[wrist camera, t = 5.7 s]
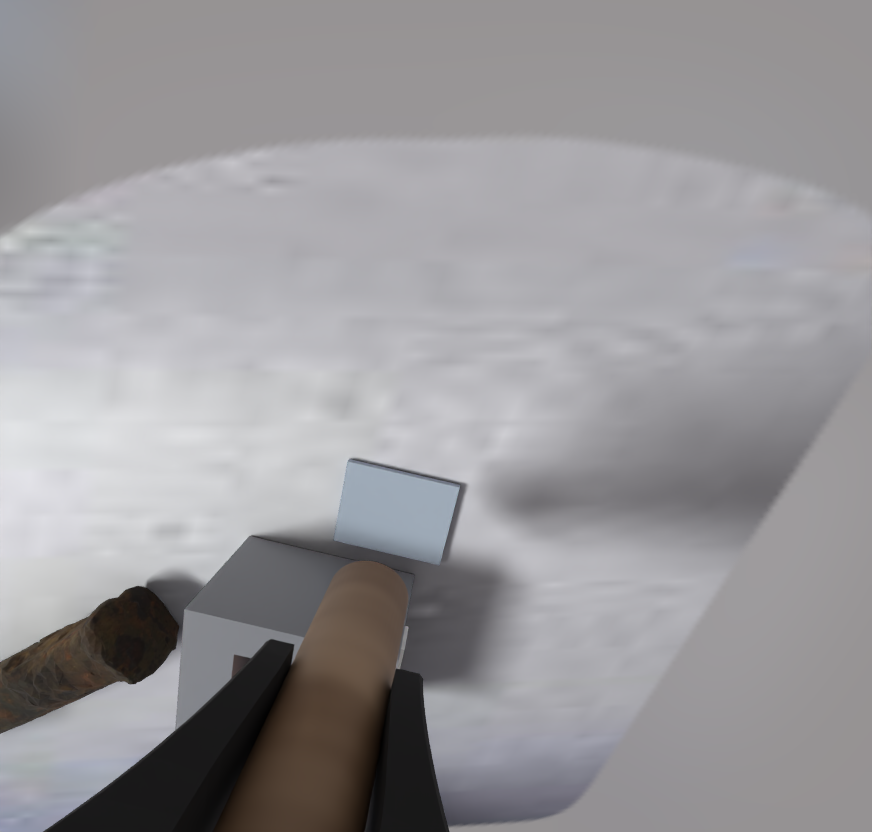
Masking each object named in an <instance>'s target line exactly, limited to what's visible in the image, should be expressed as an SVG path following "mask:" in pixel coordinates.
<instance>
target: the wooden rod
mask: <svg viewBox="0 0 872 832" xmlns="http://www.w3.org/2000/svg"><path fill="white" fill-rule="evenodd" d="M407 605H408V591H407V588H406V585H405V583H404V581H403V580H402V578H401V577H400V576H399V575H398V574H397V573H396V572H395V571H394V570H392V569H391V568H389V567H388V566H386V565H383V564H381V563H378V562H373V561H357V562H353V563H350V564H348V565H345V566H344V567H342V568H341V569H340V570H339V571H338V572H337V573H336V574H335V575H334V577H333V578H332V580H331V582H330V585H329V587H328V589H327V591H326V593H325V595H324V597H323V599H322V602H321V604H320V606H319V608H318V610H317V612H316V614H315V616H314V618H313V621H312V623H311V625H310V627H309V629H308V631H307V633H306V635H305V637H304V640H303V642H302V644H301V646H300V648H299V650H298V652H297V654H296V657H295V659H294V661H293V663H292V665H291V667H290V669H289V671H288V673H287V676H286V678H285V680H284V682H283V684H282V686H281V688H280V690H279V693H278V695H277V697H276V699H275V701H274V703H273V705H272V707H271V709H270V712H269V714H268V716H267V718H266V720H265V722H264V724H263V726H262V728H261V731H260V733H259V735H258V737H257V739H256V741H255V743H254V745H253V748H252V750H251V752H250V754H249V756H248V758H247V760H246V762H245V764H244V767H243V769H242V771H241V773H240V775H239V777H238V779H237V781H236V784H235V786H234V788H233V790H232V792H231V794H230V796H229V798H228V800H227V803H226V805H225V807H224V809H223V811H222V813H221V815H220V817H219V819H218V822H217V824H216V826H215V828H214V830H213V832H365V828H366V822H367V817H368V812H369V806H370V801H371V796H372V790H373V785H374V780H375V775H376V769H377V764H378V759H379V753H380V748H381V741H382V734H383V727H384V722H385V717H386V711H387V706H388V701H389V696H390V690H391V686H392V682H393V678H394V674H395V669H396V663H397V658H398V653H399V648H400V642H401V637H402V632H403V626H404V621H405V616H406V611H407Z"/></svg>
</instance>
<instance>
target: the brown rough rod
mask: <svg viewBox="0 0 872 832" xmlns="http://www.w3.org/2000/svg"><path fill="white" fill-rule="evenodd" d="M178 629H179V625H178V624H177V622H176V621H175V620H174V619H173V618H172V616H171V615H170V613H169V611H168V610H167V608H166V606H165V605H164V604H163V603H162V602H161V600H160V599H159V598H158V597H157V596H156V595H155V594H154V593H152V592H151V591H150V590H149V589H147V588H145V587H140V586H136V587H133V588H130V589H127V590H125V591H124V592H123V593H122V594H121V595H120V596H119V597H118V598H112V599H108V600H106V601H105V602H103V603H102V604H100V605H99V606H98V607H97V608H96V609H95V610H94V611H93V613H92V614H91V615H90V616H89V617H87V618H84V619H82V620H80V621H78V622H76V623H74V624H70V625H67V626H66V627H64V628H63V629H60V630H57V631H56V632H54V633H52V634H50V635H48V636H46V637H44V638H42V639H41V640H40V642H39V643H38V642H36V643H34V644H33V645H31V646H30V647H28V648H26V649H24V650H23V651H21V652H19V653H17V654H15V655H13V656H11V657H9V658H8V659H6V660H4V661H2V662H0V734H1V733H3V732H5V731H8V730H10V729H13V728H15V727H17V726H20V725H23V724H25V723H27V722H29V721H32V720H34V719H36V718H38V717H41V716H43V715H45V714H47V713H49V712H51V711H53V710H56V709H58V708H61V707H63V706H65V705H67V704H69V703H72V702H74V701H76V700H79V699H81V698H83V697H85V696H87V695H89V694H91V693H93V692H95V691H97V690H99V689H102V688H104V687H106V686H108V685H110V684H112V683H115V682H117V681H120V682H122V681H125V682H127V683H128V684H136V683H137V682H140V681H142V680H143V679H145V678H146V677H148V676H150V675H151V674H153V673H154V672H155V671H156V670H157V669H158V668H159V667H160V666H161V665H162V664H163V663H164V661H165V660H166V659H167V657H168V655H169V654H170V652H171V651H172V650H174V649H176V644H177V634H178Z"/></svg>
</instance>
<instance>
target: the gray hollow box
mask: <svg viewBox="0 0 872 832" xmlns="http://www.w3.org/2000/svg"><path fill="white" fill-rule="evenodd" d="M353 562H357V561H354V560H350V559H346V558H341V557H337V556H333V555H329V554H324V553H320V552H316V551H312V550H307V549H303V548H299V547H294V546H290V545H286V544H282V543H277V542H273V541H269V540H265V539H260V538H256V537H252V536H249V537H248V538H247V540H246V541H245V542H244V543H243V544H242V545H241V546H240V547H239V549H238V550H237V551H236V552H235V553H234V554H233V555H232V556H231V557H230V559H229V560H228V561H227V562H226V563H225V564H224V565H223V566H222V567H221V569H220V570H219V571H218V572H217V573H216V574H215V575H214V576H213V578H212V579H211V580H210V581H209V582H208V583H207V584H206V585H205V586H204V588H203V589H202V590H201V591H200V592H199V593H198V594H197V595H196V596H195V598H194V599H193V600H192V601H191V602H190V603H189V604H188V605H187V607H186V608H185V609H184V619H183V632H182V646H181V660H180V674H179V687H178V701H177V715H176V729H178V728H179V727H180V726H181V725H182V724H183V723H185V722H186V721H187V720H188V719H189V718H190V717H191V716H192V715H194V714H195V713H196V712H197V711H198V710H199V709H200V708H201V707H202V706H203V705H204V704H205V703H206V702H208V701H209V700H210V699H211V698H212V697H213V696H214V695H215V694H216V693H217V692H218V691H219V690H220V689H221V688H222V687H223V686H224V685H225V684H226V683H227V682H228V681H229V680H230V679H231V678H232V677H233V676H234V675H235V674H236V673H237V672H238V671H239V670H240V669H241V668H242V667H243V666H244V665H245V664H246V663H247V662H248V661H249V660H250V659H251V658H252V657H253V656H254V655H255V653H256V652H257V651H258V650H259V649H260V648H261V647H262V646H263V645H264V643H265V642H266V641H268V640H270V639H274V640H278V641H282V642H286V643H291V644H295V645H294V651H293V657H292V663H293V661H294V659H295V657H296V654H297V652H298V650H299V648H300V646H301V644H302V642H303V640H304V637H305V635H306V633H307V631H308V629H309V627H310V625H311V623H312V621H313V618H314V616H315V614H316V612H317V610H318V608H319V606H320V604H321V602H322V599H323V597H324V595H325V593H326V591H327V589H328V587H329V585H330V582H331V580H332V578H333V577H334V575H335V574H336V573H337V572H338V571H339V570H340V569H341V568H342V567H344V566H345V565H348V564H350V563H353ZM392 570H393V569H392ZM394 571H395V572H396V573H397V574H398V575H399V576H400V577H401V578H402V580H403V581H404V583H405V585H406V588H407V591H408V605H407V611H406V616H405V621H404V626H403V632H402V637H401V642H400V648H399V653H398V658H397V663H396V668H397V669H400V667H401V663H402V659H403V655H404V651H405V645H406V639H407V634H408V628H409V627H408V626H405V624H406V619H407V613H408V608H409V602H410V597H411V591H412V586H413V581H414V574H410V573H405V572H401V571H397V570H394ZM291 665H292V664H291ZM395 670H396V669H395ZM176 729H175V730H176Z"/></svg>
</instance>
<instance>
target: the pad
mask: <svg viewBox="0 0 872 832" xmlns="http://www.w3.org/2000/svg"><path fill="white" fill-rule="evenodd" d="M459 489H460V485H459V484H454V483H450V482H446V481H441V480H437V479H433V478H429V477H424V476H420V475H416V474H411V473H407V472H403V471H399V470H394V469H390V468H386V467H382V466H377V465H373V464H369V463H364V462H360V461H356V460H352V459H349V460H348V462H347V467H346V473H345V479H344V484H343V490H342V496H341V501H340V507H339V512H338V518H337V524H336V529H335V535H334V540H333V541H337V542H342V543H346V544H350V545H355V546H359V547H363V548H367V549H372V550H376V551H380V552H384V553H389V554H393V555H397V556H401V557H406V558H410V559H414V560H419V561H423V562H427V563H431V564H436V565H440V562H441V558H442V554H443V550H444V546H445V542H446V539H447V535H448V531H449V527H450V523H451V519H452V515H453V512H454V508H455V504H456V500H457V496H458V492H459Z"/></svg>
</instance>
